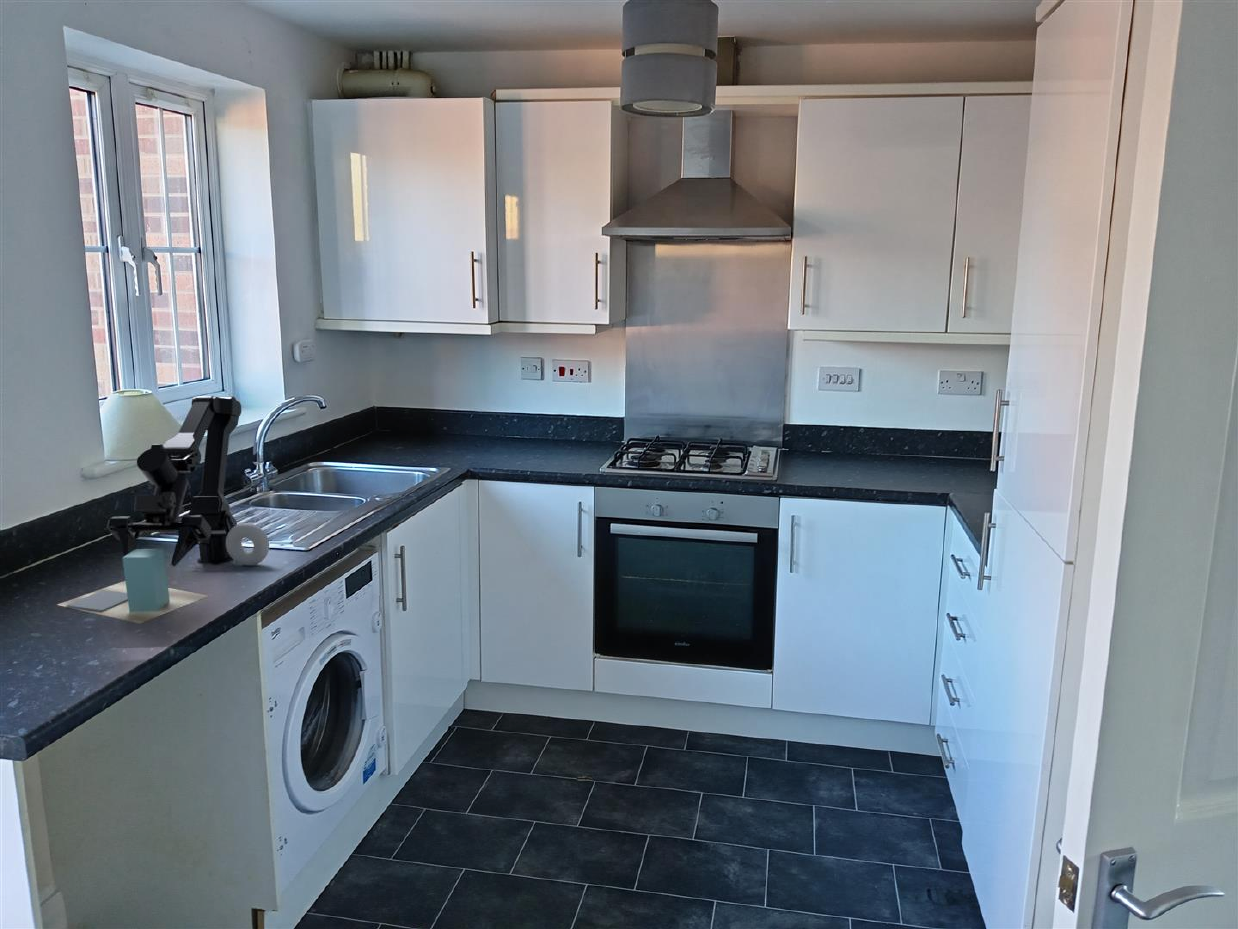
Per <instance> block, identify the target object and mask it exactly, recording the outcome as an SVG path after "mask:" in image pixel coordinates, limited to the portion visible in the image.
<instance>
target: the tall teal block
mask: <svg viewBox="0 0 1238 929" xmlns="http://www.w3.org/2000/svg"><path fill="white" fill-rule="evenodd" d="M121 559H122V565H123V572H124V574H123V575H124V581H125V582H126V589H127V597H128V604H129V612H136V611H158V610H159V609H161V608H162V607H163V606H164V605H166V604H167V603H168V602H169V601H170V599H169V590H168V588H169V583H168V577H167V576H168V575H167V567H166V560H165V559H166V558H165V552H164V548H136V549H135V550H134V551H132V552H130V553H129V554H127V555H126V556H124V557H123V556H122V558H121Z"/></svg>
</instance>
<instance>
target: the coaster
mask: <svg viewBox="0 0 1238 929" xmlns="http://www.w3.org/2000/svg"><path fill="white" fill-rule="evenodd" d="M126 601H128V597H127V593H124V592H116V591H108V590H102V591H100V592H98V593H95V594H93V595H90V596H88V597H85V598H83V599H80V600H78V601H75V602H73V603H70V604H68V605H66V606H67V607H66V608H68V607H70V608H69V609H72V608H77V609H84V610H92V611H99V612H103V611H106V610H108V609H110V608H112V607H115V606H117V605H119V604H122V603H124V602H126ZM77 609H76V610H77Z"/></svg>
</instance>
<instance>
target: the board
mask: <svg viewBox="0 0 1238 929" xmlns="http://www.w3.org/2000/svg"><path fill="white" fill-rule="evenodd" d="M102 590H108V591H116V592H124V593H127V589H126V582H125V580H124V581H120V582H118V583H114V584H112V585H109V586H105V587H103V588H100V589H98V590H95V591H92V592H90V593H87V594H86V593H85V594H84V595H80V596H77V597H75V598H71V599H70V600H69V599H68V600H67V601H63V602H61V603H60V602H59V603H58V604H56V605H57V606H59V607H64V608H67V609H71V610H78V611H81V612H82V611H83V612H85V613H90V614H96V615H99V616H104V617H109V618H113V619H116V620H121V621H126V622H131V623H133V624H134V623H135V624H138V625H139V624H143V623H145V622H147V621H150V620H152V619H155V618H157V617H160V616H162V615H165V614H168V613H170V612H172V611H175V610H178V609H180V608H182V607H183V608H184V607H185V606H187V605H190V604H192V603H195V602H198V601H201V600H203V599H205V598H207V597H209V595H206V594H201V593H197V592H191V591H186V590H182V589H181V590H180V589H176V588H170V587H168V590H169V599H170V601H169V602H168V603H167V604H166V605H164V606H163V607H162V608H161V609H159V610H158V611H136V612H129V604H128V601H126V602H124V603H122V604H119V605H117V606H115V607H112V608H110V609H108V610H106V611H103V612H99V611H92V610H84V609H77V608H70V607H67V606H66V605H68V604H70V603H73V602H75V601H78V600H80V599H83V598H85V597H88V596H90V595H93V594H95V593H98V592H100V591H102Z"/></svg>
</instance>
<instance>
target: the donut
mask: <svg viewBox="0 0 1238 929" xmlns="http://www.w3.org/2000/svg"><path fill="white" fill-rule="evenodd" d="M243 539H249V540H250V541H251V542H252V544H253V548H252V550H247V549H245V547H244V546H243V545H242V541H243ZM226 548H227V552H228V553H229V555H230V556H231V558H233V559H232V560H234V562H235V563H238V564H240V565H243V566H247V567H249V566H250V567H251V566H256V565H258V564H260V563H262V562H263V561H264V560H265V559H266V558H267V556H268V554H269V551H270V541H269V538H268V535H267V533H266V532H265V530H263V529H262V528H261V527H260V526H258V525H256V524H254V523H248V522H245V523H244V522H243V523H239V524H238V523H237V525H236V526H234V527H233V528H232V529H231V530H230V531H229V532H228V535H227V537H226Z"/></svg>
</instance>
